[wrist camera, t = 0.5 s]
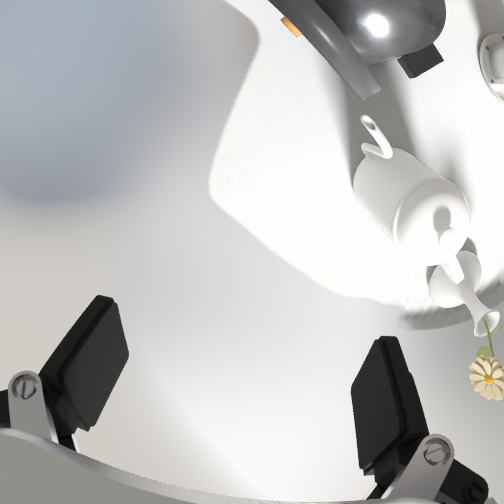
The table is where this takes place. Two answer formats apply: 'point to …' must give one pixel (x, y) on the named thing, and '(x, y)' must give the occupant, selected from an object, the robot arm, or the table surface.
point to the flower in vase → (450, 295)
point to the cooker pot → (391, 30)
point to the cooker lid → (329, 43)
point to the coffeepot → (412, 204)
